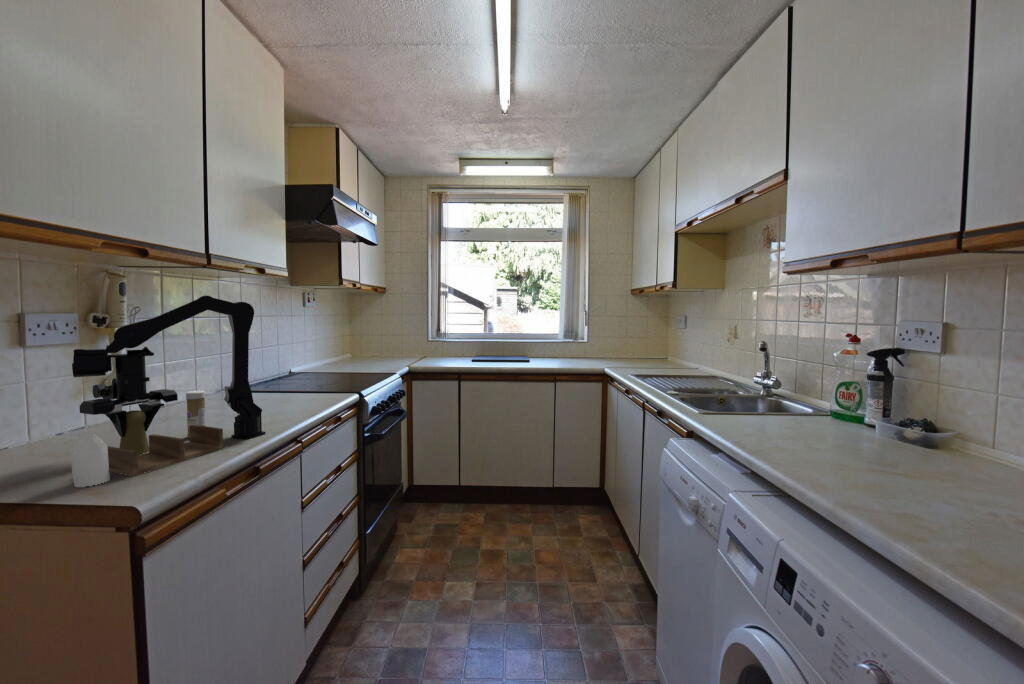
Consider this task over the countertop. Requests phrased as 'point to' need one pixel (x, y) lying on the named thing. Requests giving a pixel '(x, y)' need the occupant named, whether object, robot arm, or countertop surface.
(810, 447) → the countertop surface
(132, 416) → the olive bottle gourd
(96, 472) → the grey pointed block
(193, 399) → the sprinkles bottle
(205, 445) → the rack
